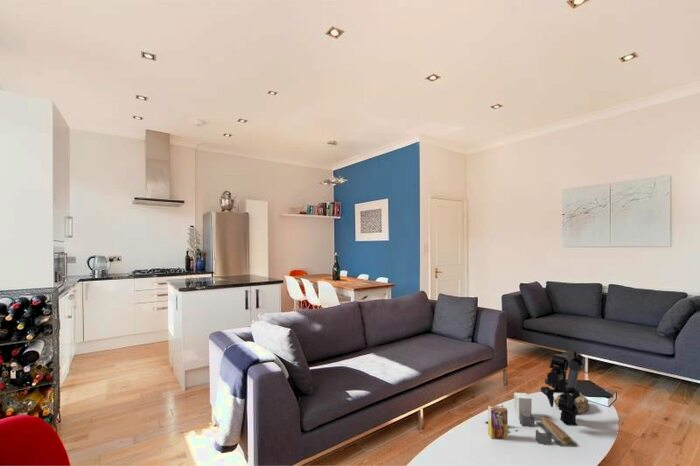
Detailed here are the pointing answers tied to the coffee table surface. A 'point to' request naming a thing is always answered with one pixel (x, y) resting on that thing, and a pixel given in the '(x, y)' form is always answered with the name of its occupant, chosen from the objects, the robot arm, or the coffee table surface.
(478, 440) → the coffee table surface
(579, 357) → the robot arm
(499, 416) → the candy box
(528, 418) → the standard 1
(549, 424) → the rail
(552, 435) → the mat
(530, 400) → the supplement box
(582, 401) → the rock
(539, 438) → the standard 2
